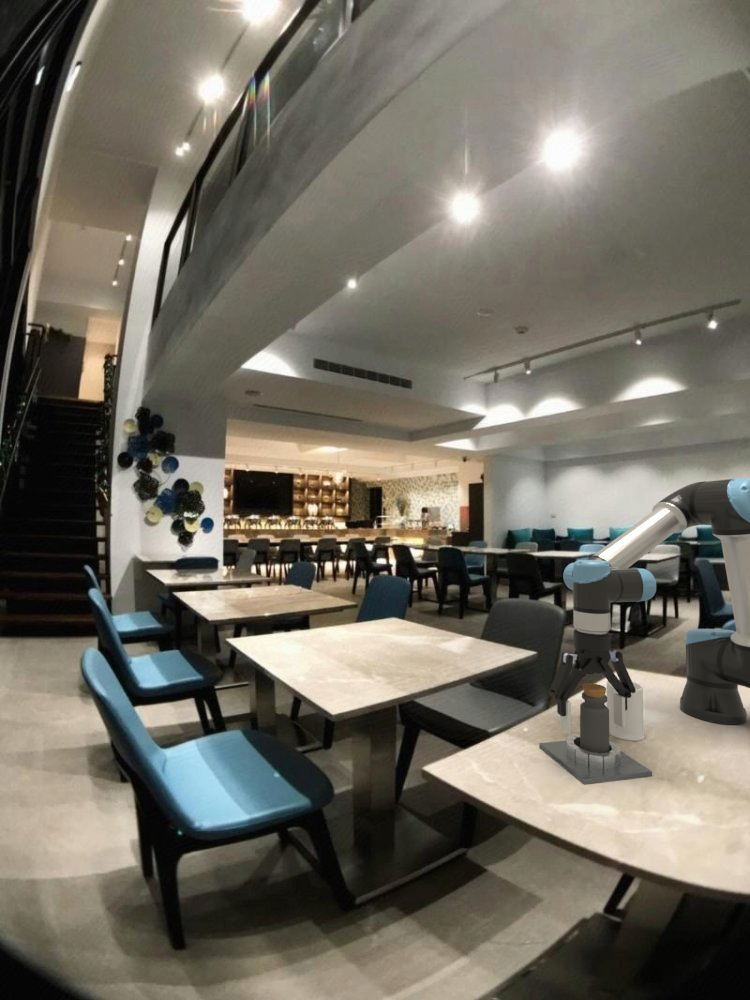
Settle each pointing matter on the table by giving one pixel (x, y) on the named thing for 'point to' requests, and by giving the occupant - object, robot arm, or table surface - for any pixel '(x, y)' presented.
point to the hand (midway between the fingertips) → (592, 727)
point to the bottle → (594, 719)
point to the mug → (627, 715)
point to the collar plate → (594, 772)
